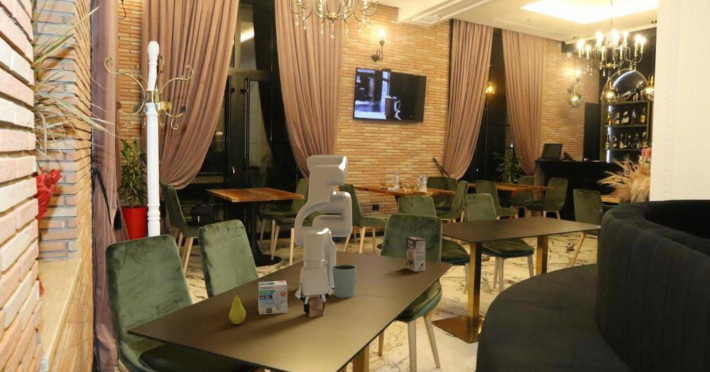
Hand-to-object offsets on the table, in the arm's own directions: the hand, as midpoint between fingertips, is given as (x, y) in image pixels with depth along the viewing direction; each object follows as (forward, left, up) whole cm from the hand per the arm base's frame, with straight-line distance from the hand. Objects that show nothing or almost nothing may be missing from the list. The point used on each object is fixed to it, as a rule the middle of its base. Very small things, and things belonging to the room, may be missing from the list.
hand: (314, 312), depth 190 cm
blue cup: (-20, -19, -1) cm, 28 cm away
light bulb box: (+13, -10, -1) cm, 16 cm away
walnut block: (0, 0, -1) cm, 1 cm away
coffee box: (-71, -47, -1) cm, 85 cm away
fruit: (+28, -1, -1) cm, 28 cm away
